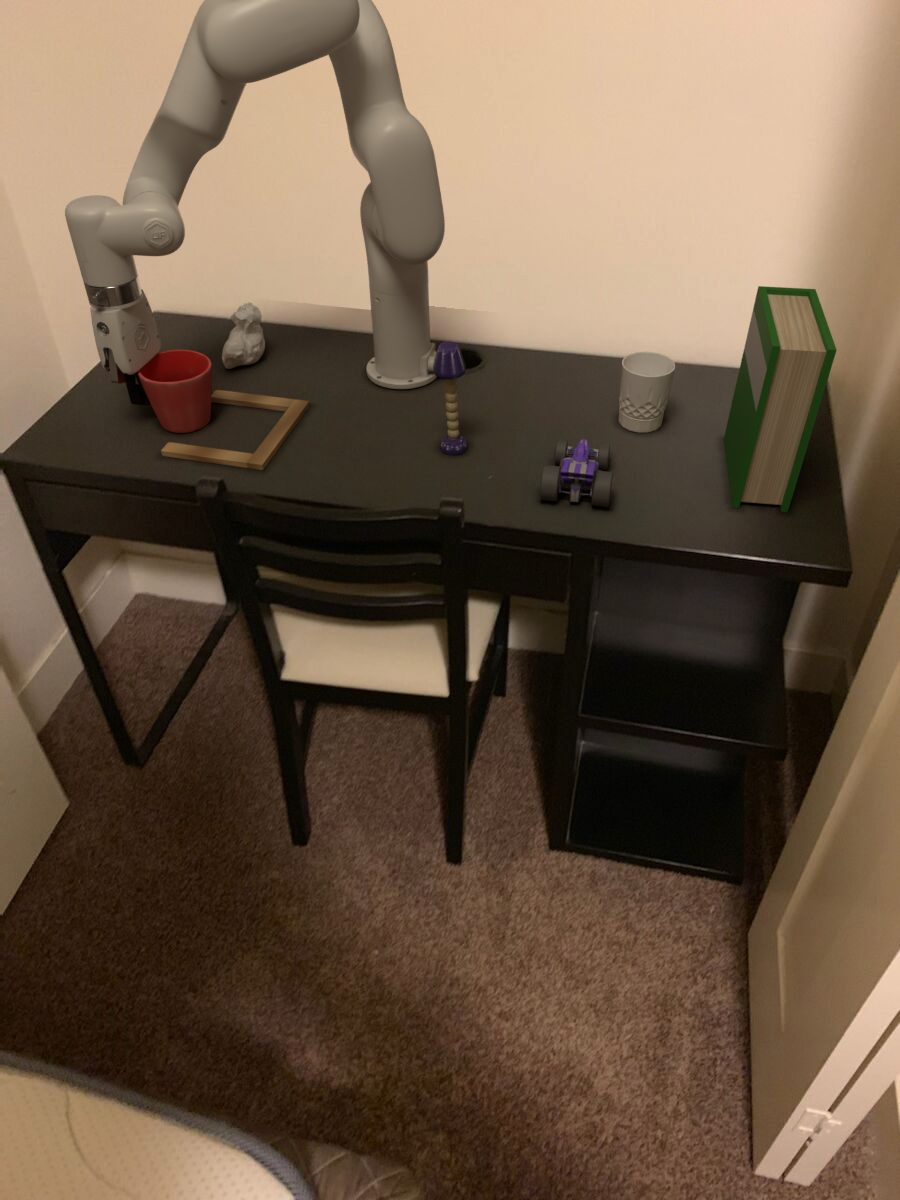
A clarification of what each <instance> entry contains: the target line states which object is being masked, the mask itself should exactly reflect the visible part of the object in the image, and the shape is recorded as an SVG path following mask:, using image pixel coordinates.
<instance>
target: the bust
mask: <svg viewBox="0 0 900 1200" xmlns="http://www.w3.org/2000/svg"><path fill="white" fill-rule="evenodd" d="M262 317H263V315H262V312H261V309H260V308H259V307H258V306H256V305H255V304H253V303H252V302H250V301H249V302H245V303H244V304H241V305H239V307H238V308H237V311H235V312H233V313H232V314H231V315H230V320H231V321H232V322H233V323H234V324H235V327H233V328H232V330H230V331H229V336H228V338H227V340H226V341H225V343H224V345H223V348H222V352H221V361H222V364H223V366H224V368H226V369H227V370H231V369H234V368H236V367H240V366H248V365H254V364H255V363H257V362H258V361H259V360H260V359H261V357H262V356H263V354H264V352H265V350H266V349H265V348H266V341H265V336H264V332H263V331H264V329H263V328H262V326H261V323H262V320H263V319H262Z"/></svg>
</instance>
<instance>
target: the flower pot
mask: <svg viewBox="0 0 900 1200" xmlns="http://www.w3.org/2000/svg"><path fill="white" fill-rule="evenodd" d="M137 373H138V376H139V378H140V381H141V383H142V385H143V388H144V390H145V392H146V394H147V396H148V399H149V401H150V403H151V404H150V405H151V407H152V410H153V411H154V414H155V415H156V417H157V419H158V421H159V423H160V425H161V427H162V428H163V429H164V430H166V431H167V432H171V433H175V434H187V433H193V432H195V431H198V430H201V429H203V428H204V427H206V426H207V425H208V424H209V423H210V421H211V416H212V415H211V413H212V402H211V395H212V375H213V374H212V373H213V367H212V361H211V359H210V358H209V357H208V356H207V355H205V354H204V353H201V352H199V351H196V350H190V349H170V350H169V349H168V350H165V351H164V350H163V351H161V352H160V351H159V352H158V353H157V354H156V355H155V356H154V357H153V358H152V359H151V360H150V361H148V362H147V363H146V364H145V365H144V366H143V367H142V368H141V369H140V370H138V371H137Z"/></svg>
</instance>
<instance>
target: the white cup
mask: <svg viewBox="0 0 900 1200" xmlns="http://www.w3.org/2000/svg"><path fill="white" fill-rule="evenodd" d="M620 369H621V371H620V382H619V395H618V400H619V402H618V405H619V408H618V409H619V411H618V423H619V425H620V426H621V427H622V428H623V429H626V430H627V431H629V432H634V433H639V434H641V433H642V434H644V433H645V434H646V433H651V432H654V431H657V430H659V428H661V426H662V424H663V419H664V415H665V410H666V409H667V405H668V402H669V397H670V393H671V387H672V384H673V379H674V375H675V370H676V363H675V361H674V360H673V359H672V358H670V357H669V356H666V354H663V353H658V352H654V351H638V352H637V351H636V352H633V353H629V354H627V355H625V356H624V357H623V359H622V360H621V368H620Z"/></svg>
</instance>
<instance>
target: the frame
mask: <svg viewBox="0 0 900 1200" xmlns="http://www.w3.org/2000/svg"><path fill="white" fill-rule="evenodd" d="M211 403H214V404H215V403H216V404H223V405H229V406H230V405H231V406H239V407H246V408H253V409H254V408H255V409H264V410H269V411H270V410H271V411H278V412H284V413H283V414H282V416H281V417H280V418H279V419H278V421H277V422H276V423H275V425H274V426H273V427H272V429H271V430H270V432H269V433H268V434H267V436H265V438H264V439H263V441H262V442H261V443H260V444H259V445H258V447H257V449H255V451H254V452H253V453H251V452H244V451H237V450H236V451H235V450H229V449H222V448H215V447H207V446H200V445H192V444H185V443H179V442H171V441H168V442H167V443H166V444H165V445H164V446H163V447H162V449H161V450H160V453H161V456H162V457H167V458H173V459H181V460H188V461H194V462H195V461H196V462H201V463H202V462H203V463H209V464H215V465H216V464H218V465H222V466H223V465H224V466H229V467H230V466H231V467H236V468H237V467H238V468H243V469H251V470H257V471H264V470H265V468H267V466H268V464H269V463H270V462H271V460H272V459H273V458H274V456H275V455H276V454H277V452H278V451H279V449H280V448H281V447H282V446H283V444H284V443H285V441H286V440H287V439H288V437H289V436H290V434H291V433H292V432H293V431H294V429H295V428H296V426H297V425H298V423H299V422H300V421H301V419H302V418H303V417H304V415H305V414H306V412H307V411H308V410H309V409H310V407H311V403H310V400H303V399H295V398H286V397H279V396H273V395H272V396H271V395H263V394H257V393H256V394H255V393H247V392H239V391H230V390H222V389H215V390H214V391H213V392H212V393H211Z"/></svg>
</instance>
